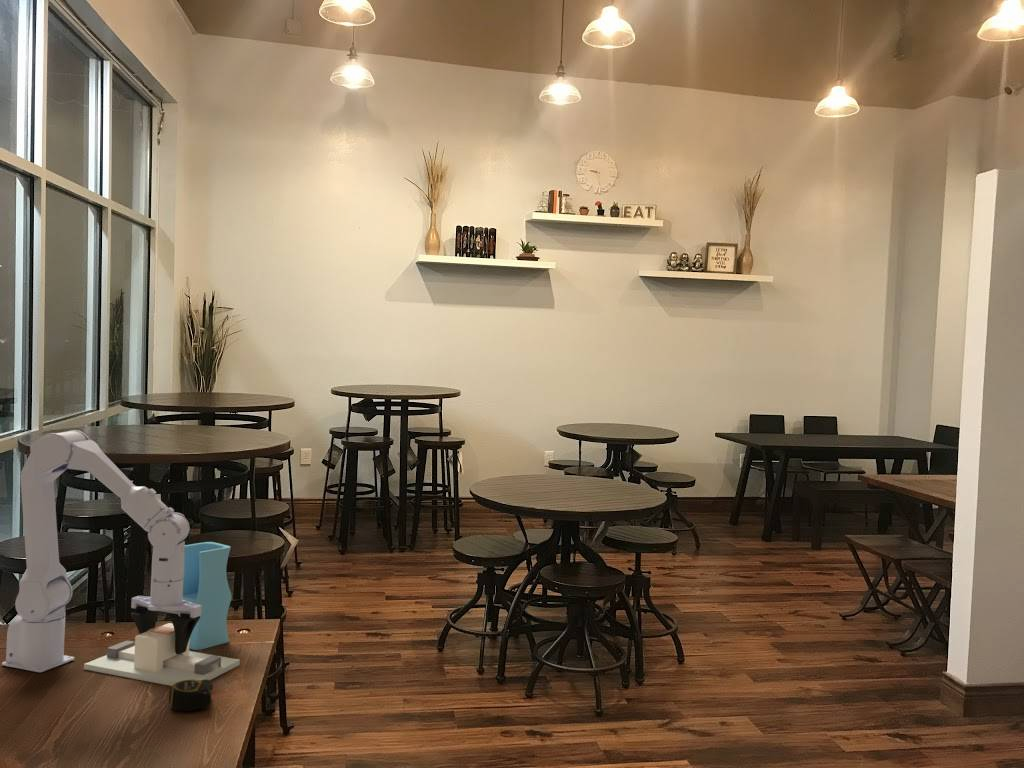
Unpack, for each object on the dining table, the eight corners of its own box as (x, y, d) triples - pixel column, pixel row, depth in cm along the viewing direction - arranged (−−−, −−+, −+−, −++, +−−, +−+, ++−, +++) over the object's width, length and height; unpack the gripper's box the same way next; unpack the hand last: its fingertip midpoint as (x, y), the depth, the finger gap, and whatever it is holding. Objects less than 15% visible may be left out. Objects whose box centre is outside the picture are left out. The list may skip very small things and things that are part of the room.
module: (133, 668, 154) (135, 634, 154) (167, 653, 162) (169, 621, 162) (156, 672, 152) (157, 638, 152) (188, 657, 161) (190, 624, 161)
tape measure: (210, 713, 138) (211, 691, 138) (166, 716, 136) (167, 694, 136) (212, 698, 145) (213, 676, 145) (170, 700, 142) (171, 678, 142)
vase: (173, 642, 172) (177, 546, 172) (206, 633, 178) (210, 541, 178) (196, 650, 167) (200, 552, 167) (229, 641, 174) (233, 546, 174)
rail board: (83, 669, 154) (84, 654, 154) (138, 647, 168) (139, 633, 168) (191, 689, 147) (192, 674, 147) (239, 664, 161) (240, 650, 161)
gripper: (120, 578, 156) (117, 650, 156) (185, 588, 151) (181, 661, 152) (147, 570, 162) (144, 639, 163) (209, 579, 158) (206, 650, 158)
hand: (164, 649), depth 158 cm, fingers open, 7 cm apart
